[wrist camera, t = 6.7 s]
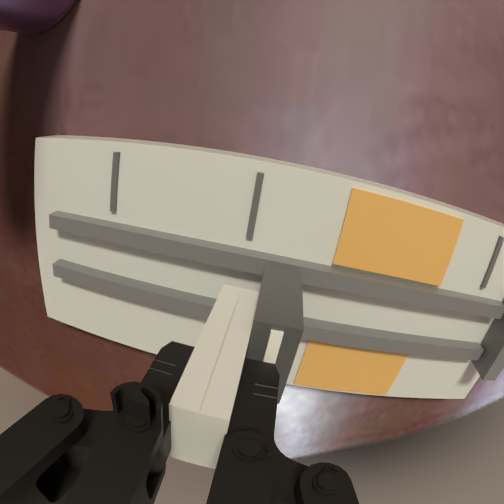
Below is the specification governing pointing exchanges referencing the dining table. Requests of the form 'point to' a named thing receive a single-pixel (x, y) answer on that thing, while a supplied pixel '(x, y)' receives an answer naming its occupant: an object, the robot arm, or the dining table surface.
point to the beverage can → (32, 14)
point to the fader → (278, 321)
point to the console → (270, 260)
